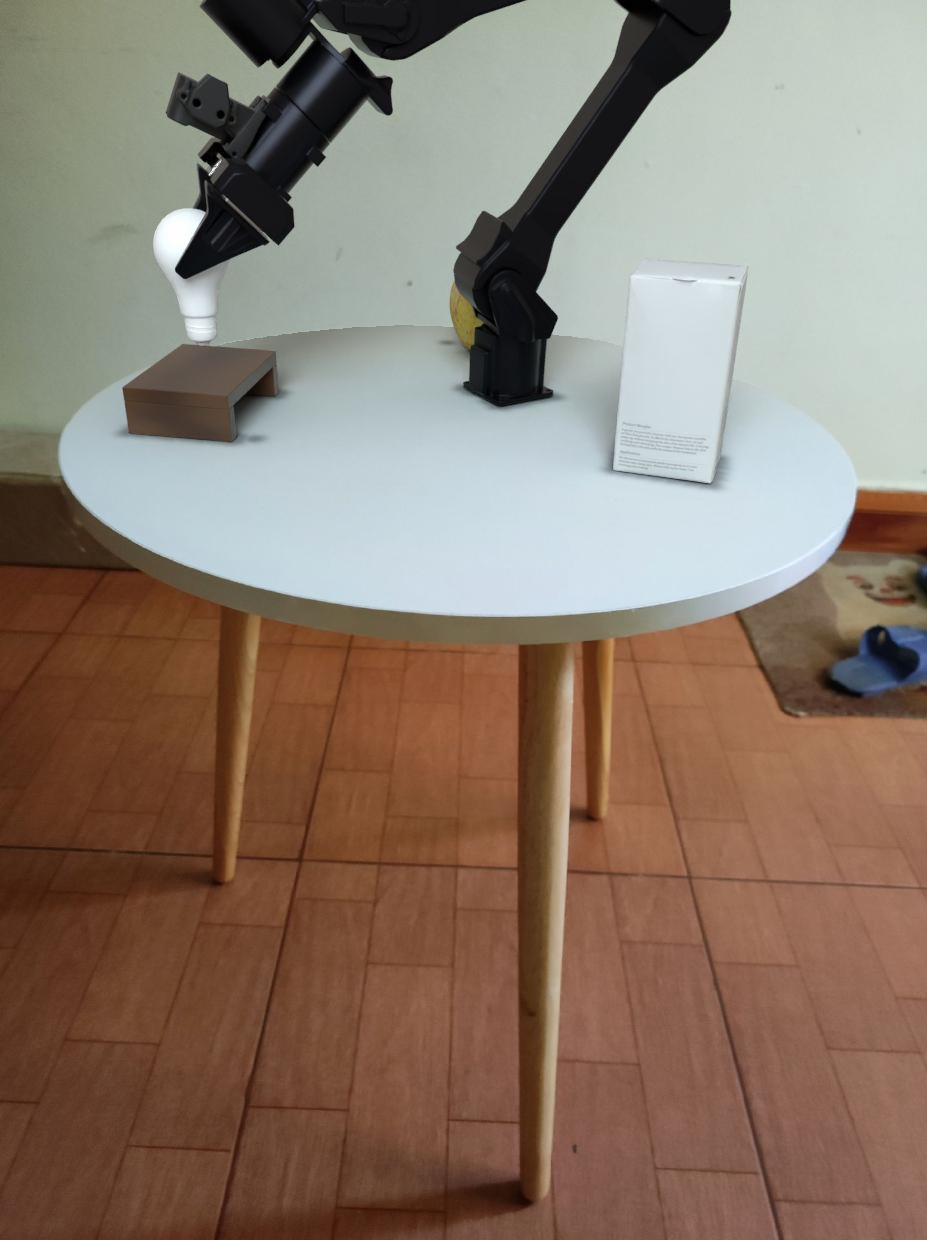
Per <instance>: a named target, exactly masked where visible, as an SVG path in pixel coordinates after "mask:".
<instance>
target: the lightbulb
mask: <svg viewBox="0 0 927 1240" xmlns="http://www.w3.org/2000/svg"><path fill="white" fill-rule="evenodd" d="M205 213H206V212H204V211H201V210H198V209H193V207H183V208H179V209H175V210H173V211H171V212H170V213H168V214H167V215H165V216H164V217H163V218H162V219H161V221H159V223H158V225H157V226H156V228H155V231H154V234H153V238H152V251H153V255H154V259H155V260H156V264H157V265H158V267H159V268H160V270H161V272H162V273H163V275H164V276H165V278H166V279H167V281H168V282H169V284H170V285H171V287H172V289H173V291H174V294H175V295H176V298H177V302H178V307H179V312H180V314H181V315H182V316H183V321H184V326H185V331H186V332H185V333H186V336H187V339H188V340H190V341H191V342H194V343H196V345H200V346H209V345H210V343H211V342H212V341H214V340H216V339H217V337H218V323H217V315H218V313H219V293H220V289H221V284H222V281H223V279H224V276H225V274H226V271H227V268H228V265H229V263H230V260H231V259H229V260H227V261H225V262H222V263H220V264H218V265H216V266H214V267H212V268H209V269H207V270H205V271H203V272H201V273H199V274H196V275H194V276H192V277H190V278H188V279H183V278H182V277H181V276H179V275H178V274H177V273H176V272H175V267H176V265H177V263H178V261H179V259H180V257H181V256H182V254H183V252H184V250H185V248H186V247H187V245H188V243H189V241H190V240H191V238H192V236H193V234H194V233H195V231H196V229H197V227H198V226H199V224H200V222H201V220H202V218H203V217H204V215H205Z"/></svg>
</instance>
